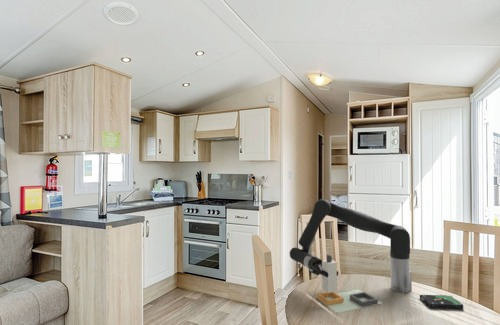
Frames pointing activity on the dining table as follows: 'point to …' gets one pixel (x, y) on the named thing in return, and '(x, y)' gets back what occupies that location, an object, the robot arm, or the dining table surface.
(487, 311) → the dining table surface
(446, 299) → the disk drive
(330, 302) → the panel
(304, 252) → the robot arm
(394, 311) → the dining table surface
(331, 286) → the white square bottle
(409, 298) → the dining table surface
